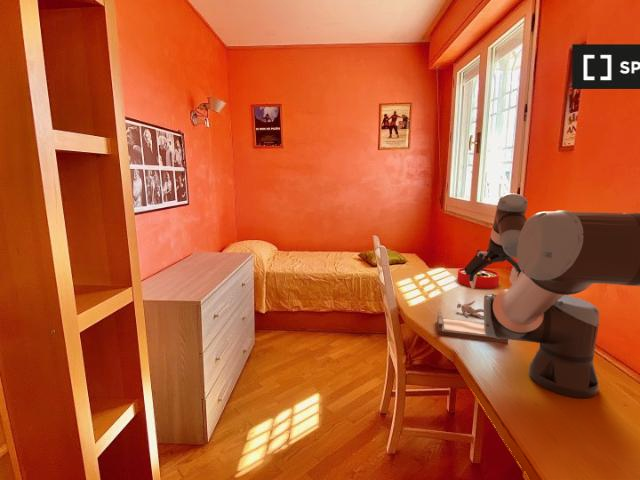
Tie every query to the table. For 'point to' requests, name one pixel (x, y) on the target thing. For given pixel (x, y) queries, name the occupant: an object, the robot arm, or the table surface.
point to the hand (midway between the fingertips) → (491, 284)
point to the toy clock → (480, 278)
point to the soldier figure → (470, 309)
